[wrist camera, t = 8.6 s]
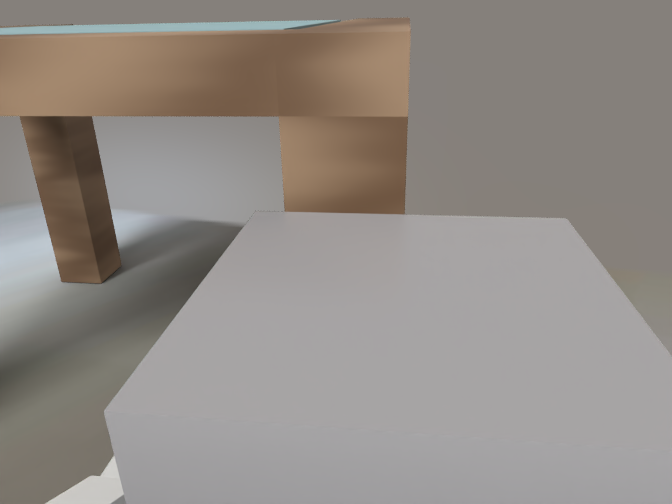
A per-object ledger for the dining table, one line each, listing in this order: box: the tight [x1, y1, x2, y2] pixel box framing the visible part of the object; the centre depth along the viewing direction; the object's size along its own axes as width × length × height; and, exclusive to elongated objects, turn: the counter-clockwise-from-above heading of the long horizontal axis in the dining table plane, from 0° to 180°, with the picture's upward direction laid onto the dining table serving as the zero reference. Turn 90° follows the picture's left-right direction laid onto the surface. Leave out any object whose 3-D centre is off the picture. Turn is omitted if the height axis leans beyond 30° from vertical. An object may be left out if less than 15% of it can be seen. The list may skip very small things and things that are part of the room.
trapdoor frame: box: [0, 18, 411, 283], centre depth 22 cm, size 20×18×14 cm
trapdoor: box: [0, 20, 341, 35], centre depth 19 cm, size 14×12×1 cm
